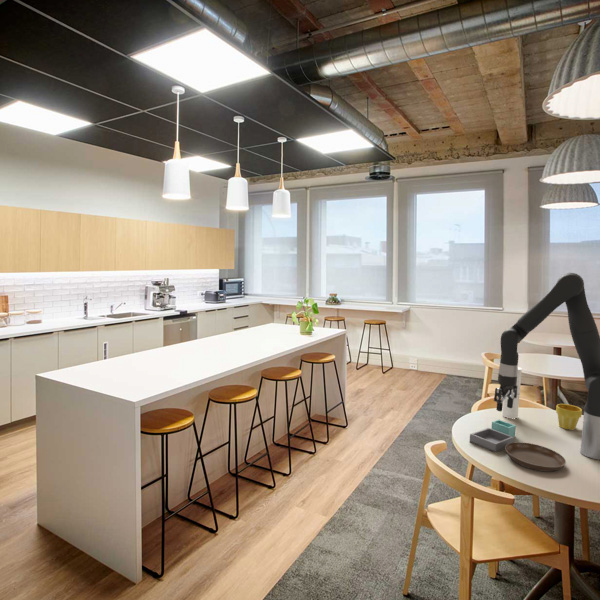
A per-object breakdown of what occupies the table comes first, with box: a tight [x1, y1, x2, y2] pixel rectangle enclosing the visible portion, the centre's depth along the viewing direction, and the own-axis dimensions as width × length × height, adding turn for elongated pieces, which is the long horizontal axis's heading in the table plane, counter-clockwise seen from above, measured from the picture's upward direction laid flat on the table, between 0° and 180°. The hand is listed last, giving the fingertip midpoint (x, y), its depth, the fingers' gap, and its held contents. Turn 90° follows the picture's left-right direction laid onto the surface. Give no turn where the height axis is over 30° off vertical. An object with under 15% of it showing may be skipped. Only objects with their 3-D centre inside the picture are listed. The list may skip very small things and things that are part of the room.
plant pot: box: [555, 403, 583, 431], centre depth 202 cm, size 10×10×10 cm
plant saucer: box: [504, 441, 567, 472], centre depth 166 cm, size 21×21×3 cm
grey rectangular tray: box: [469, 427, 515, 453], centre depth 181 cm, size 14×12×4 cm
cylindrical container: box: [501, 366, 523, 420], centre depth 213 cm, size 7×7×25 cm
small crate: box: [490, 419, 517, 438], centre depth 191 cm, size 6×8×5 cm
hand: (504, 409), depth 190 cm, fingers open, 8 cm apart
